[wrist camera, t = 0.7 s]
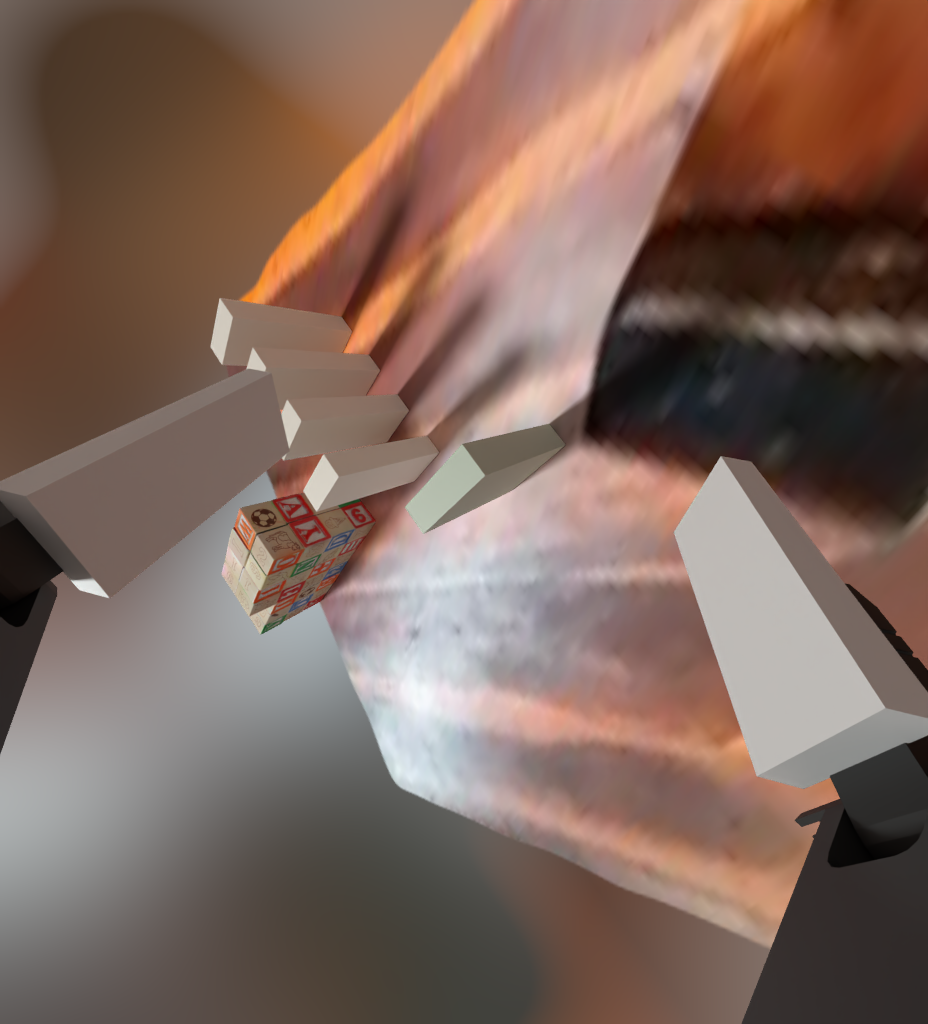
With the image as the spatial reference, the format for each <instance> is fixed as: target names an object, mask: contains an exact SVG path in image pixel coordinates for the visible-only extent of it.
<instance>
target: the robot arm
mask: <svg viewBox="0 0 928 1024" xmlns="http://www.w3.org/2000/svg"><path fill="white" fill-rule="evenodd" d="M288 452H290V450H289V446H288V442H287V437H286V433H285V429H284V424H283V420H282V416H281V411H280V407H279V403H278V399H277V394H276V390H275V386H274V381H273V377H272V373H270V372H265V371H259V370H254V369H247V370H245V371H242V372H240V373H238V374H236V375H233V376H231V377H229V378H227V379H225V380H223V381H220V382H218V383H216V384H214V385H212V386H209V387H207V388H205V389H203V390H200V391H198V392H196V393H194V394H192V395H189V396H187V397H185V398H183V399H181V400H179V401H176V402H174V403H172V404H170V405H167V406H165V407H163V408H161V409H159V410H156V411H154V412H152V413H150V414H148V415H145V416H143V417H141V418H139V419H137V420H135V421H132V422H130V423H128V424H126V425H123V426H121V427H119V428H117V429H115V430H112V431H110V432H108V433H106V434H104V435H102V436H99V437H97V438H95V439H93V440H90V441H88V442H86V443H84V444H82V445H79V446H77V447H75V448H73V449H70V450H68V451H66V452H64V453H62V454H60V455H57V456H55V457H53V458H51V459H49V460H46V461H44V462H42V463H40V464H37V465H35V466H33V467H31V468H29V469H26V470H24V471H22V472H20V473H18V474H15V475H13V476H11V477H9V478H7V479H4V480H2V481H0V753H1V750H2V748H3V745H4V742H5V739H6V736H7V734H8V731H9V728H10V725H11V723H12V720H13V717H14V714H15V711H16V709H17V706H18V703H19V700H20V697H21V695H22V692H23V689H24V686H25V683H26V681H27V678H28V675H29V672H30V669H31V667H32V664H33V661H34V658H35V655H36V653H37V650H38V647H39V644H40V641H41V638H42V636H43V633H44V630H45V627H46V624H47V622H48V619H49V616H50V613H51V611H52V608H53V605H54V602H55V600H56V597H57V587H56V586H55V585H54V584H53V583H52V582H51V581H50V580H51V579H52V578H54V577H55V576H57V575H58V574H60V573H61V572H64V573H65V574H66V575H67V577H68V578H69V579H70V580H71V581H72V582H73V583H74V584H75V586H76V587H77V588H78V589H79V590H81V591H85V592H88V593H92V594H96V595H99V596H103V597H107V598H111V597H112V596H113V595H115V594H116V593H117V592H118V591H120V590H121V589H122V588H123V587H125V586H126V585H127V584H128V583H129V582H131V581H132V580H133V579H134V578H136V577H137V576H138V575H139V574H140V573H142V572H143V571H144V570H145V569H147V568H148V567H149V566H150V565H152V564H153V563H154V562H155V561H156V560H158V559H159V558H160V557H161V556H162V555H163V554H165V553H166V552H167V551H169V550H170V549H171V548H172V547H174V546H175V545H176V544H177V543H178V542H180V541H181V540H182V539H183V538H185V537H186V536H187V535H188V534H189V533H190V532H192V531H193V530H194V529H195V528H197V527H198V526H199V525H200V524H201V523H203V522H204V521H205V520H207V519H208V518H209V517H210V516H211V515H213V514H214V513H215V512H216V511H217V510H219V509H220V508H221V507H222V506H224V505H225V504H226V503H227V502H228V501H230V500H231V499H232V498H233V497H235V496H236V495H237V494H238V493H240V492H241V491H242V490H243V489H244V488H246V487H247V486H248V485H249V484H251V483H252V482H253V481H254V480H255V479H257V478H258V477H259V476H260V475H262V474H263V473H264V472H265V471H266V470H268V469H269V468H270V467H271V466H273V465H274V464H275V463H276V462H277V461H279V460H280V459H281V458H282V457H284V456H285V455H286V454H287V453H288ZM674 534H675V537H676V540H677V543H678V546H679V549H680V552H681V555H682V558H683V561H684V564H685V566H686V569H687V572H688V575H689V578H690V581H691V584H692V587H693V590H694V593H695V596H696V599H697V602H698V605H699V608H700V611H701V613H702V616H703V619H704V622H705V625H706V628H707V631H708V634H709V637H710V640H711V643H712V646H713V649H714V652H715V655H716V658H717V661H718V663H719V666H720V669H721V672H722V675H723V678H724V681H725V684H726V687H727V690H728V693H729V696H730V699H731V702H732V705H733V708H734V710H735V713H736V716H737V719H738V722H739V725H740V728H741V731H742V734H743V737H744V740H745V743H746V746H747V749H748V752H749V755H750V757H751V760H752V763H753V766H754V769H755V772H756V775H757V776H758V777H762V778H765V779H769V780H773V781H776V782H780V783H784V784H787V785H791V786H795V787H798V788H802V789H805V788H807V787H810V786H812V785H814V784H816V783H819V782H821V781H823V780H826V779H828V778H831V780H832V782H833V784H834V786H835V788H836V791H837V793H838V795H839V797H840V799H838V800H836V801H833V802H830V803H828V804H825V805H822V806H820V807H817V808H814V809H812V810H809V811H806V812H804V813H802V814H800V815H799V816H798V817H797V818H796V819H795V821H796V822H797V823H798V824H799V825H800V826H801V827H803V826H806V825H809V824H812V823H815V822H818V821H820V825H819V827H818V830H817V832H816V835H813V838H814V840H813V843H812V845H811V848H810V850H809V853H808V855H807V858H806V860H805V863H804V866H803V868H802V871H801V873H800V876H799V878H798V881H797V883H796V886H795V889H794V891H793V894H792V896H791V899H790V901H789V904H788V906H787V909H786V912H785V914H784V917H783V919H782V922H781V924H780V927H779V929H778V932H777V935H776V937H775V940H774V942H773V945H772V947H771V950H770V952H769V955H768V958H767V960H766V963H765V965H764V968H763V971H762V973H761V976H760V978H759V981H758V983H757V986H756V988H755V991H754V993H753V996H752V999H751V1001H750V1004H749V1006H748V1009H747V1011H746V1014H745V1016H744V1019H743V1021H742V1024H928V670H927V669H926V668H925V666H924V665H923V664H922V663H921V661H920V660H919V659H918V658H915V657H913V656H912V654H913V651H912V650H911V649H910V648H909V647H908V645H907V644H906V643H905V642H904V640H903V639H902V638H901V637H900V636H896V630H895V629H894V628H893V627H892V625H891V624H890V623H889V622H888V620H887V619H886V618H885V617H884V615H883V614H882V613H881V612H880V610H879V609H878V608H877V607H876V606H875V605H874V604H872V603H871V602H870V601H869V600H868V599H866V598H865V597H864V596H863V595H862V594H860V593H859V592H858V591H857V590H856V589H854V588H853V587H852V586H851V585H850V584H845V583H844V582H843V581H842V580H841V578H840V577H839V576H838V574H837V573H836V572H835V570H834V569H833V568H832V567H831V565H830V564H829V563H828V561H827V560H826V559H825V557H824V556H823V555H822V554H821V552H820V551H819V550H818V548H817V547H816V546H815V544H814V543H813V542H812V540H811V539H810V538H809V537H808V535H807V534H806V533H805V531H804V530H803V529H802V527H801V526H800V525H799V523H798V522H797V521H796V520H795V518H794V517H793V516H792V514H791V513H790V512H789V510H788V509H787V508H786V506H785V505H784V504H783V503H782V501H781V500H780V499H779V497H778V496H777V495H776V493H775V492H774V491H773V489H772V488H771V487H770V486H769V484H768V483H767V482H766V480H765V479H764V478H763V476H762V475H761V474H760V473H759V471H758V470H757V469H756V467H755V466H754V465H753V463H752V462H749V461H744V460H738V459H733V458H728V457H722V456H721V457H720V459H719V460H718V462H717V464H716V465H715V467H714V468H713V470H712V472H711V473H710V475H709V476H708V478H707V480H706V481H705V483H704V484H703V486H702V488H701V489H700V491H699V493H698V494H697V496H696V497H695V499H694V501H693V502H692V504H691V505H690V507H689V509H688V510H687V512H686V513H685V515H684V517H683V518H682V520H681V522H680V523H679V525H678V526H677V528H676V530H675V531H674Z"/></svg>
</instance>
